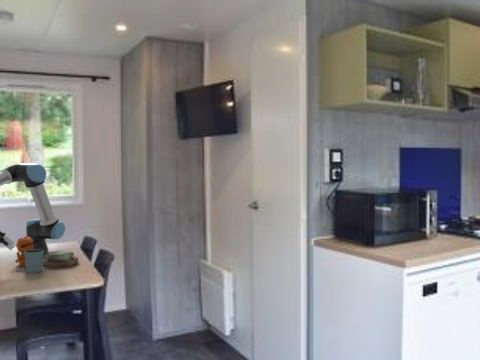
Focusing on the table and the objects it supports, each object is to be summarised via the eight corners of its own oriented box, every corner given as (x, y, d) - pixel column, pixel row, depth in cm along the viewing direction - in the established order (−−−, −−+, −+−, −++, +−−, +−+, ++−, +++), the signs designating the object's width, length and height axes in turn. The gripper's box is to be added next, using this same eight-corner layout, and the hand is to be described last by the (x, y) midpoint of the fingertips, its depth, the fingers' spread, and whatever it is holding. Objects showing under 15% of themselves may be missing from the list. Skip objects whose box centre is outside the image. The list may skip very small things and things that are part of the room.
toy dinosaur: (27, 267, 266) (26, 237, 265) (11, 266, 268) (10, 236, 267) (39, 263, 277) (38, 234, 276) (23, 262, 279) (23, 233, 278)
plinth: (54, 259, 286) (54, 249, 285) (84, 261, 283) (84, 250, 283) (36, 267, 266) (35, 255, 266) (67, 268, 263) (67, 257, 263)
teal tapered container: (20, 272, 255) (19, 251, 254) (34, 268, 264) (34, 248, 263) (33, 274, 251) (33, 253, 250) (47, 270, 260) (47, 249, 260)
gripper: (-23, 223, 254) (7, 247, 262) (-27, 229, 232) (7, 255, 240) (-13, 213, 256) (17, 237, 264) (-15, 218, 234) (18, 245, 242)
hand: (12, 246), depth 252 cm, fingers open, 13 cm apart
